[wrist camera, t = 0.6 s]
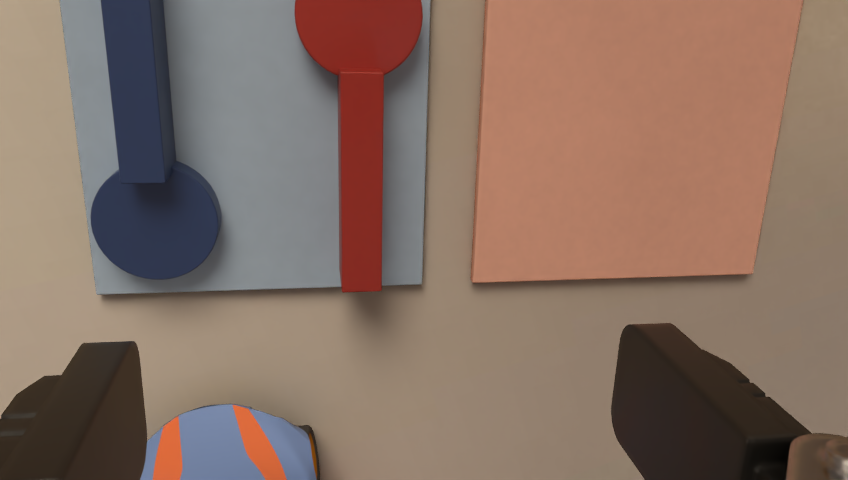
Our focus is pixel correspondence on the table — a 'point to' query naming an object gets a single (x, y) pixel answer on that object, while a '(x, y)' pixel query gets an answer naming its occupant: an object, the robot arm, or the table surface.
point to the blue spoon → (148, 157)
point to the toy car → (231, 447)
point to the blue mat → (256, 144)
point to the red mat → (627, 136)
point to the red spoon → (359, 113)
